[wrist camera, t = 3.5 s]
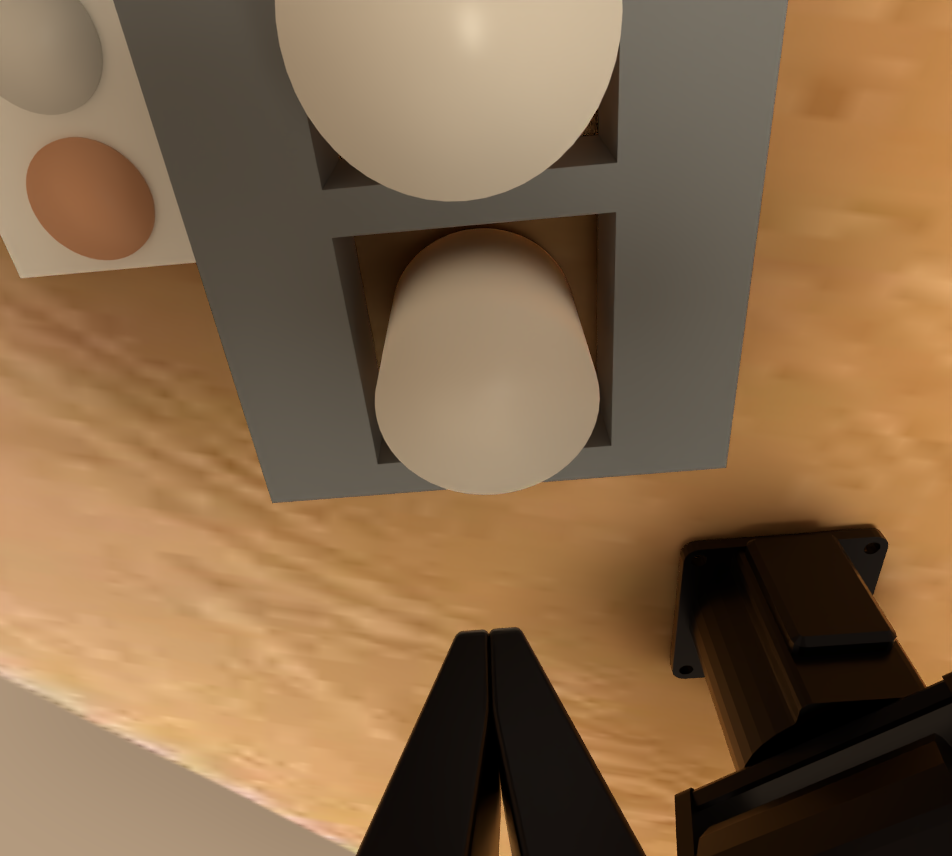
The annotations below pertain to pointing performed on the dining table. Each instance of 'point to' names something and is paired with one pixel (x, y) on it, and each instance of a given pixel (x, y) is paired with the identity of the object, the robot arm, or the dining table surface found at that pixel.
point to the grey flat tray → (545, 196)
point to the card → (79, 146)
